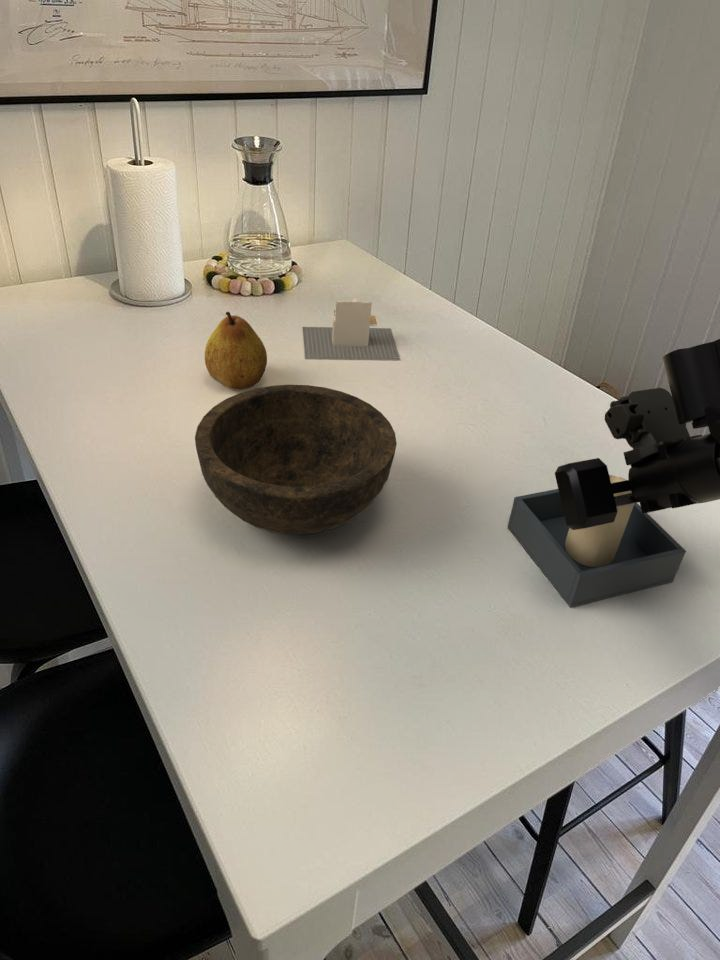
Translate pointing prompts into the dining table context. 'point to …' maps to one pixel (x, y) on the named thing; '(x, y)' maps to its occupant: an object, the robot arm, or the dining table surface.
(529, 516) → the dark gray square tray
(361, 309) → the architectural model
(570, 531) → the candle
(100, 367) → the dining table surface
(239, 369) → the fruit
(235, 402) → the bowl
